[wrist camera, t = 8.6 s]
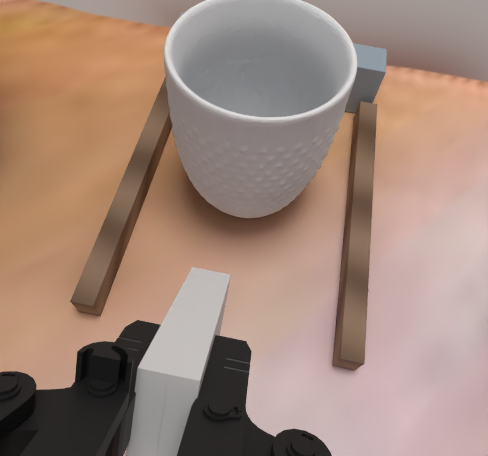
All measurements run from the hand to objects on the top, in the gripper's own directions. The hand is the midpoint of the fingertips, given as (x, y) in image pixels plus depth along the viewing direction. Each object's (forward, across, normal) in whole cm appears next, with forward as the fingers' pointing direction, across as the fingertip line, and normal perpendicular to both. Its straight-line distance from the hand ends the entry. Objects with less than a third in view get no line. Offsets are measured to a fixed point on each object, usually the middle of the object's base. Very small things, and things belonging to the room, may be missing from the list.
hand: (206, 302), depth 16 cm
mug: (+21, 0, +2) cm, 21 cm away
